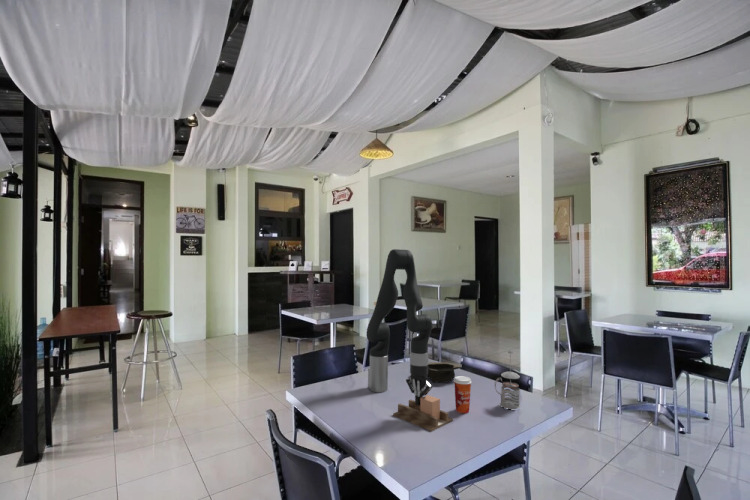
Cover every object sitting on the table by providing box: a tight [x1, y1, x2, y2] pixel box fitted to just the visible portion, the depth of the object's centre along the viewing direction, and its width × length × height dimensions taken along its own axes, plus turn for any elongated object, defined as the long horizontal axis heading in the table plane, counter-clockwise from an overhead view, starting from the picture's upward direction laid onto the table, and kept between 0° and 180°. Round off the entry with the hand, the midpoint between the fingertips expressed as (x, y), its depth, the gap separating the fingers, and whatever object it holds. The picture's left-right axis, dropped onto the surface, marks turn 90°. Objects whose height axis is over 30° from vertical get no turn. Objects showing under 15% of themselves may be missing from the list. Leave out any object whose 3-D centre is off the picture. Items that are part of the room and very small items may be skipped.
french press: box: [494, 349, 521, 409], centre depth 169 cm, size 10×12×25 cm
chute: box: [392, 399, 454, 432], centre depth 155 cm, size 20×14×4 cm
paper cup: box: [453, 375, 472, 414], centre depth 163 cm, size 8×8×14 cm
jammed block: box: [420, 394, 441, 420], centre depth 152 cm, size 6×5×8 cm
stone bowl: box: [427, 361, 463, 384], centre depth 209 cm, size 25×25×9 cm
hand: (418, 404), depth 156 cm, fingers closed
